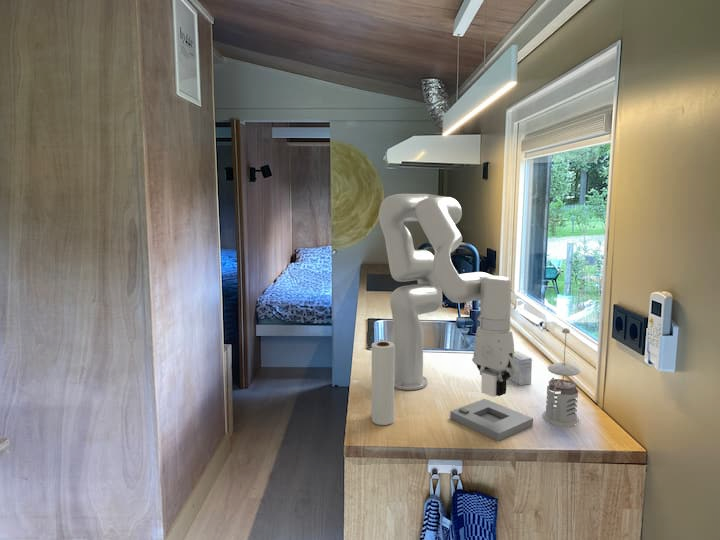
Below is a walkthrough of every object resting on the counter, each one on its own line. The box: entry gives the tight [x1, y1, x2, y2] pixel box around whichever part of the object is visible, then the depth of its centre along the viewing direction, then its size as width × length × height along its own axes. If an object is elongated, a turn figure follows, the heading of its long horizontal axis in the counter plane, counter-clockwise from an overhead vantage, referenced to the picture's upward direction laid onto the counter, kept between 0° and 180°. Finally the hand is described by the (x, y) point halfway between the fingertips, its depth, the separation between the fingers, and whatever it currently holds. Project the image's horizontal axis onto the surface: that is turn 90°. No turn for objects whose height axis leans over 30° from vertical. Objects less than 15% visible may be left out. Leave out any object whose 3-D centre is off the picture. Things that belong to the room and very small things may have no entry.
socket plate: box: [449, 398, 534, 442], centre depth 134 cm, size 16×14×3 cm
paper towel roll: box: [371, 338, 395, 426], centre depth 134 cm, size 7×6×21 cm
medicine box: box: [508, 350, 533, 386], centre depth 163 cm, size 8×4×9 cm, turn 16°
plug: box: [480, 368, 503, 398], centre depth 132 cm, size 4×5×6 cm
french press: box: [541, 327, 581, 427], centre depth 134 cm, size 10×12×25 cm
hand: (493, 391), depth 132 cm, fingers closed on plug, 4 cm apart
